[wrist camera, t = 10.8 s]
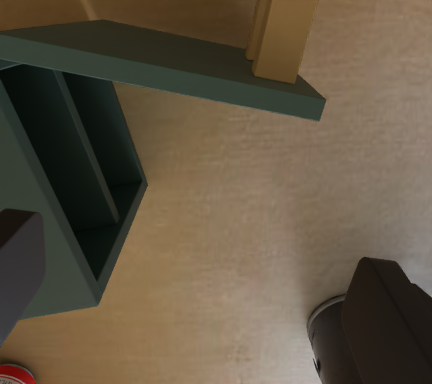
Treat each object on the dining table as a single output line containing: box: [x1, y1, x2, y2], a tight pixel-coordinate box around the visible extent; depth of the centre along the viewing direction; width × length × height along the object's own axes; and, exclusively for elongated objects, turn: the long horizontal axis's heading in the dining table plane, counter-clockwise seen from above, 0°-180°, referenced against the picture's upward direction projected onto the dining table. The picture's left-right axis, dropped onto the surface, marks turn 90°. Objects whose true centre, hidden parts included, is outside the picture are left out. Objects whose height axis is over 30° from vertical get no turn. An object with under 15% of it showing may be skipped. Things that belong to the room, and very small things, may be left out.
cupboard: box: [0, 59, 148, 320], centre depth 26 cm, size 10×14×16 cm
